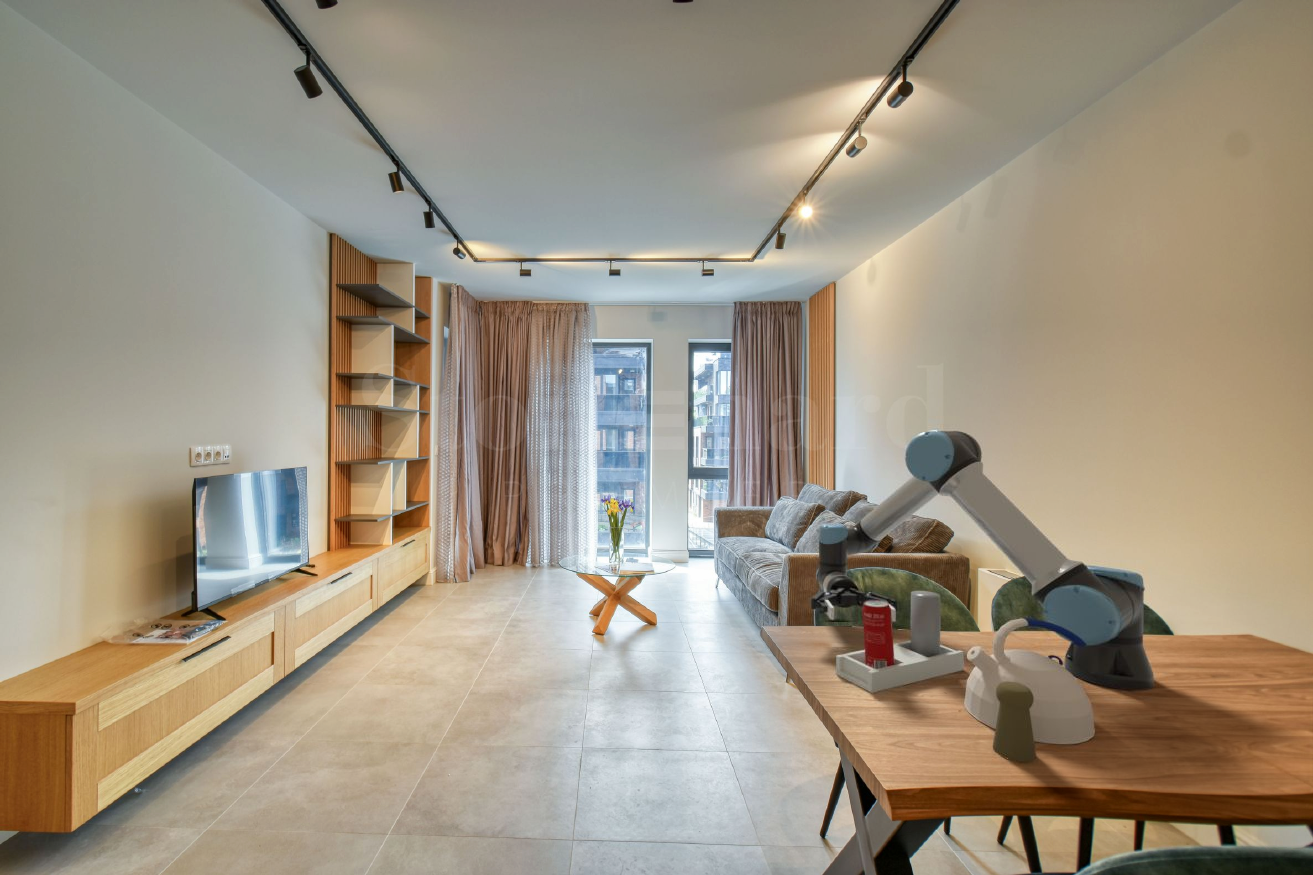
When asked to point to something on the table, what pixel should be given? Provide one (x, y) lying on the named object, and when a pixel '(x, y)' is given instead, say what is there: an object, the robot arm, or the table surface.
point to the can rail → (907, 652)
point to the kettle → (1031, 687)
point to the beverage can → (878, 634)
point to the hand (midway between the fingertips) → (863, 614)
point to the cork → (1014, 723)
